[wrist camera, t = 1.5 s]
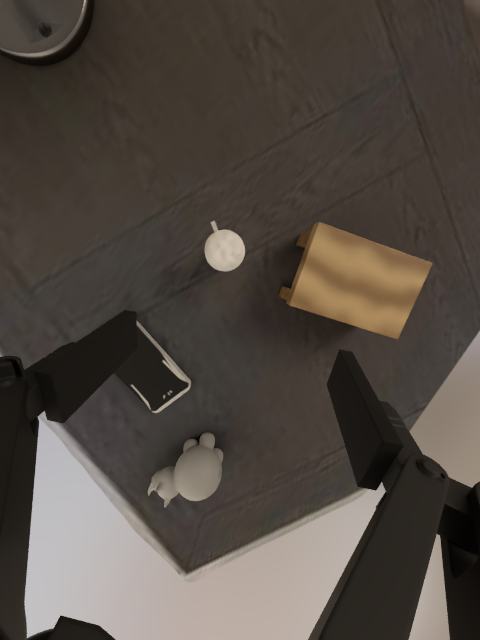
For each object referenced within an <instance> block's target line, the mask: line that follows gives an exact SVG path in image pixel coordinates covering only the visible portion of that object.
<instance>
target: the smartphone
mask: <svg viewBox="0 0 480 640" xmlns="http://www.w3.org/2000/svg"><path fill="white" fill-rule="evenodd" d="M137 342H138V348H137V350H136V351H135V352H134V353H133V354H132V355H131V356H130V357H129V358H128V359H127V360H126V361H125V362H124V363H123V364H122V365H121V366H120V367H119V368H118V369H117V370H116V371H115V372H114V373H115V374H116V375H117V376H118V377H119V378H120V379H121V380H122V381H123V382H124V383H125V384H126V385H127V386H128V387H129V388H130V389H131V390H132V392H133V393H134V394H135V395H136V396H137V397H138V398H139V399H140V400H141V401H142V402H143V403H144V404H145V405H146V406H147V407H148V408H149V409H150V410H151V411H152V412H154V413H158V412H160V411H161V410H163V409H164V408H165V407H167V406H168V405H169V404H171V403H172V402H174V401H175V400H176V399H178V398H179V397H180V396H182V395H183V394H184V393H186V392H187V391H188V390H189V389H190V386H191V380H190V379H189V378H188V377H187V376H186V375H185V374H184V372H183V371H182V370H181V369H180V368H179V367H178V366H177V365H176V363H175V362H174V361H173V360H172V359H171V358H170V357H169V356H168V355H167V353H166V352H165V351H164V350H163V349H162V348H161V347H160V346H159V344H158V343H157V342H156V341H155V340H154V339H153V338H152V337H151V335H150V334H149V333H148V332H147V331H146V330H145V329H144V328H143V327H142V325H141V324H140V323H139V322H138V321H137Z"/></svg>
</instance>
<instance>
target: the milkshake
mask: <svg viewBox="0 0 480 640" xmlns="http://www.w3.org/2000/svg"><path fill="white" fill-rule="evenodd" d="M211 225H212V228H213V230H214V232H215V233H213V234H212V235H211V236H210V237H209V238H208V239H207V241H206V244H205V256H206V259H207V261H208V263H209V264H210V265H211V266H212V267H213V268H214V269H216V270H219V271H231V270H233V269H235V268H237V267H238V266H239V265H240V264H241V262H242V261H243V258H244V255H245V247H244V244H243V241H242V239H241V238H240V236H238V235H237V234H236V233H234V232H232V231H230V230H219V231H218V228H217V226H216V223H215V221H212V222H211Z"/></svg>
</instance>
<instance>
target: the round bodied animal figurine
mask: <svg viewBox="0 0 480 640" xmlns="http://www.w3.org/2000/svg"><path fill="white" fill-rule="evenodd" d="M214 444H215V437H214V435H213V434H211V433H203V434H202V435H201V437H200V440H199V442H198V441H197V440H195V439H188V440H187V441H186V442H185V444H184V447H183V452H184V453H183V454H182V455H181V456H180V457H179V459H178V461H177V463H176V466H175V467H174V466H169V467H166V468H164V469H163V470H159V471H157V472H156V473H155V474H154V476H153V477H152V483H151V485H150V486H149V489H148V495H149V494H150V493H151V491H152V490H156V491H157V492H158V494H159V496H160V497H162V498H163V499H164V500H165V502H164V507H166V506H167V505H168V504H169V502H170V500H171V498H173V497H175V496H176V495H177V494H178V493H179V492H180V494H181V495H182V496H183V497H185V498H186V499H188V500H191V501H200V500H204V499H206V498H208V497H209V496H210V495H212V494H213V493H214V492H215V490H216V489H217V487H218V485H219V483H220V480H221V476H222V465H221V463H222V461H223V452H222V450H220V449H219V448H214Z"/></svg>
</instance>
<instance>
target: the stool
mask: <svg viewBox="0 0 480 640" xmlns="http://www.w3.org/2000/svg"><path fill="white" fill-rule="evenodd" d="M296 245H297V246H300V247H303V248H305V251H304V253H303V256H302V259H301V262H300V265H299V267H298V270H297V273H296V276H295V279H294V281H293V284H292V287H291V289H290V288H287V287H284V286H282V287H281V290H280V293H279V297H281V298H283V299H285V300H287V301H286V304H288V305H290V306H293V307H296V308H299V309H302V310H305V311H309V312H312V313H315V314H318V315H321V316H325V317H328V318H331V319H334V320H337V321H340V322H344V323H347V324H350V325H353V326H356V327H359V328H363V329H366V330H369V331H372V332H375V333H379V334H382V335H385V336H388V337H391V338H394V339H398V338H399V335H400V333H401V331H402V329H403V327H404V324H405V322H406V320H407V318H408V316H409V314H410V311H411V309H412V307H413V305H414V303H415V301H416V298H417V296H418V294H419V292H420V290H421V288H422V285H423V283H424V281H425V279H426V277H427V275H428V272H429V270H430V268H431V266H432V264H433V263H431V262H428V261H425V260H422V259H420V258H417V257H414V256H411V255H409V254H406V253H403V252H400V251H398V250H395V249H392V248H389V247H387V246H384V245H381V244H378V243H376V242H373V241H370V240H367V239H365V238H362V237H359V236H356V235H354V234H351V233H348V232H345V231H343V230H340V229H337V228H334V227H332V226H329V225H326V224H323V223H321V222H318V223H316V224H314V225H313V228H312V230H309V231H307V232H305V233H302V234H300V236H299V239H298V241H297V244H296Z"/></svg>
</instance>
